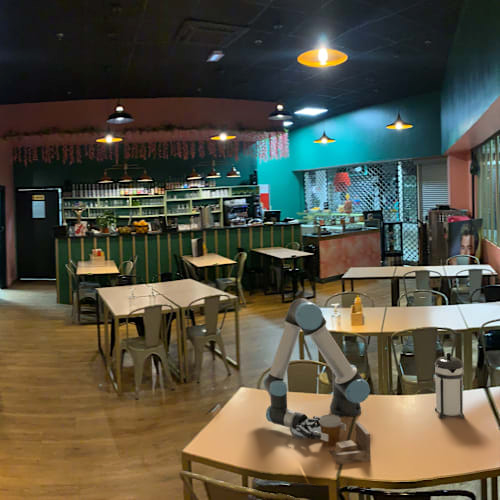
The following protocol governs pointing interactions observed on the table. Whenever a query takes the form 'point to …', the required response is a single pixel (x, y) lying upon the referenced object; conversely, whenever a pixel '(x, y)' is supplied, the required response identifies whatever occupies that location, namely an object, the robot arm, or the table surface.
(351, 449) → the offcut stack
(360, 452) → the offcut rack
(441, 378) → the coffee press
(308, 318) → the robot arm
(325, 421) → the disposable coffee cup
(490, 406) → the table surface
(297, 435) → the slate mat
